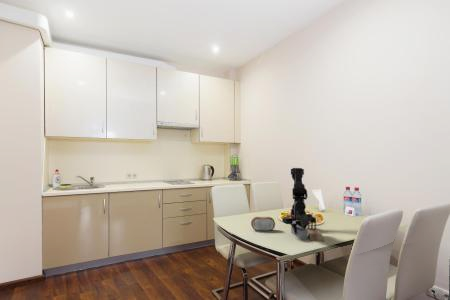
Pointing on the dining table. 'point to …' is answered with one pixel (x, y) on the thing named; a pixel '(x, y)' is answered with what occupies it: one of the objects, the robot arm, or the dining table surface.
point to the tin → (263, 223)
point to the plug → (300, 233)
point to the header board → (314, 233)
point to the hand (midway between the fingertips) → (299, 234)
